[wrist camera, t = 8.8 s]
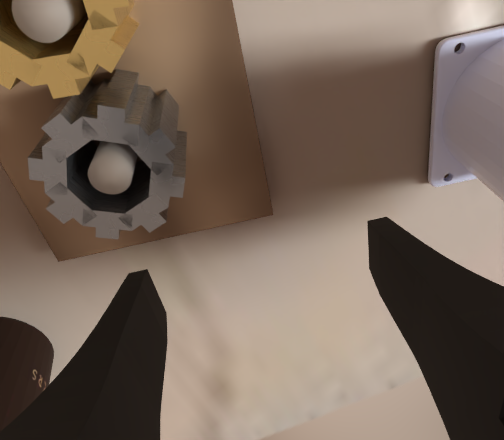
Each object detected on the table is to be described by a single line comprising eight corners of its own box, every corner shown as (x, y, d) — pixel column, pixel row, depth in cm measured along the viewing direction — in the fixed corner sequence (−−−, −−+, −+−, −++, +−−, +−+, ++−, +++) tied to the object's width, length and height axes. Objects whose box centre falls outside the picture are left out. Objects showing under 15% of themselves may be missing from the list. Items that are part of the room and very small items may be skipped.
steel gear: (129, 42, 18) (112, 72, 14) (210, 144, 21) (213, 191, 17) (32, 118, 19) (-7, 164, 15) (121, 204, 22) (106, 260, 18)
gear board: (182, -250, 14) (176, -333, 10) (270, 203, 24) (287, 265, 20) (-171, -167, 14) (-339, -211, 10) (64, 248, 25) (34, 320, 20)
